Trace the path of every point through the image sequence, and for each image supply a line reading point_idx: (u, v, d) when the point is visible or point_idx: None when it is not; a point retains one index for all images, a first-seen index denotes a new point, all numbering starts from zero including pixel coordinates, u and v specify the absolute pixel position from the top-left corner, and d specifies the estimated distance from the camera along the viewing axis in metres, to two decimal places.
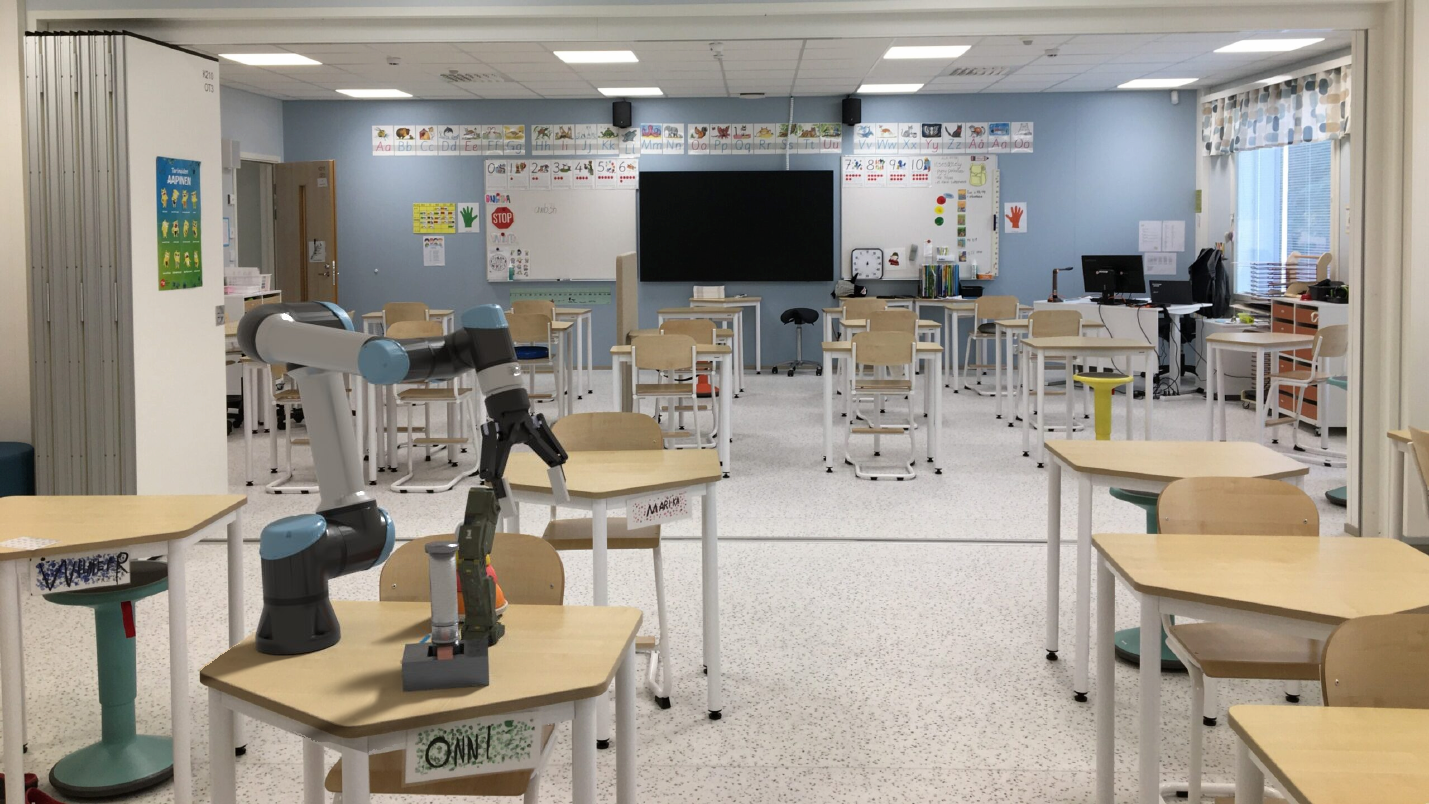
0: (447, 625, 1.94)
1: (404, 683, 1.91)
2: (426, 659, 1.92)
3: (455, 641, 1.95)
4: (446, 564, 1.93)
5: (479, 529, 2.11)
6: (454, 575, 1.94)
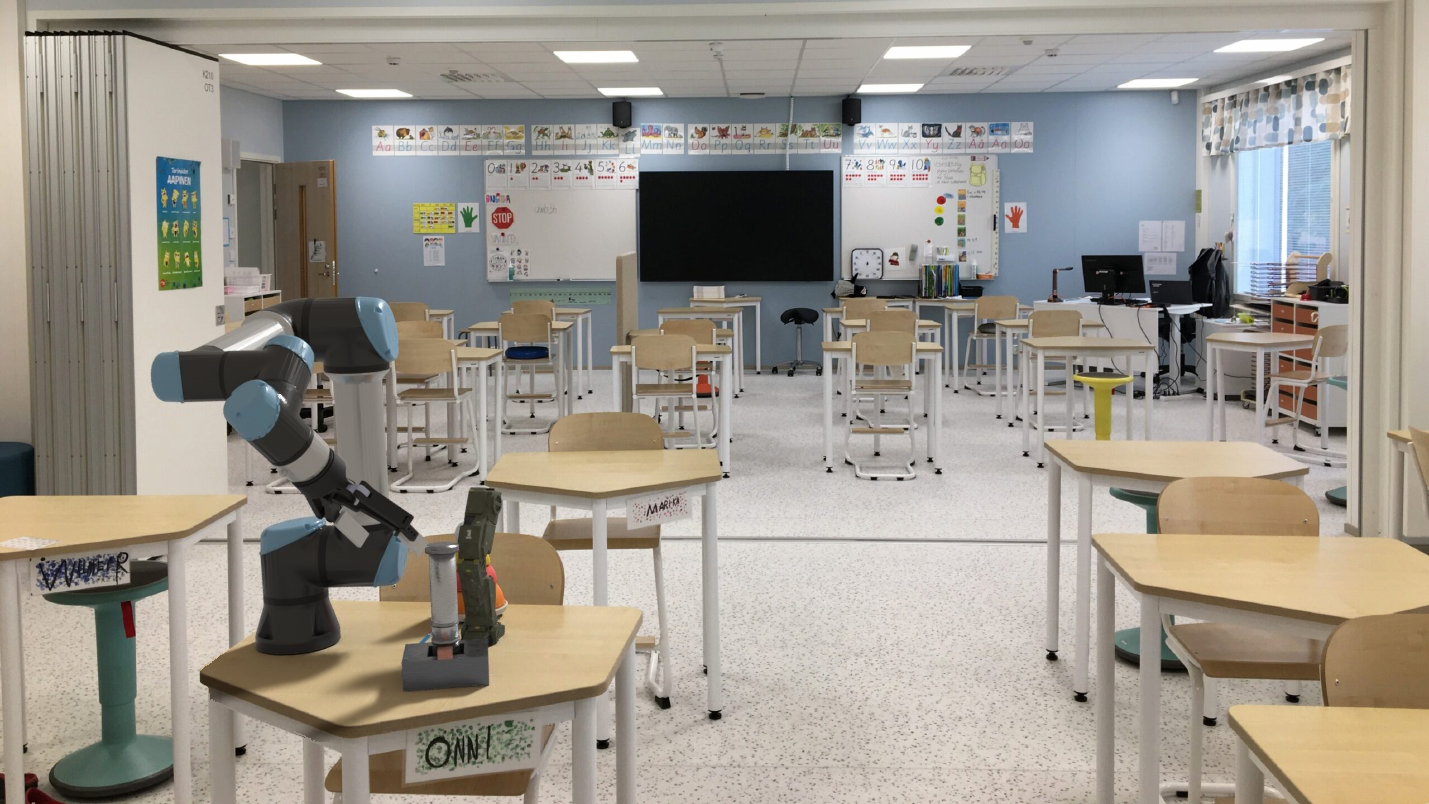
0: (447, 626, 1.94)
1: (404, 683, 1.91)
2: (426, 659, 1.92)
3: (455, 642, 1.95)
4: (446, 565, 1.93)
5: (479, 529, 2.11)
6: (454, 576, 1.94)
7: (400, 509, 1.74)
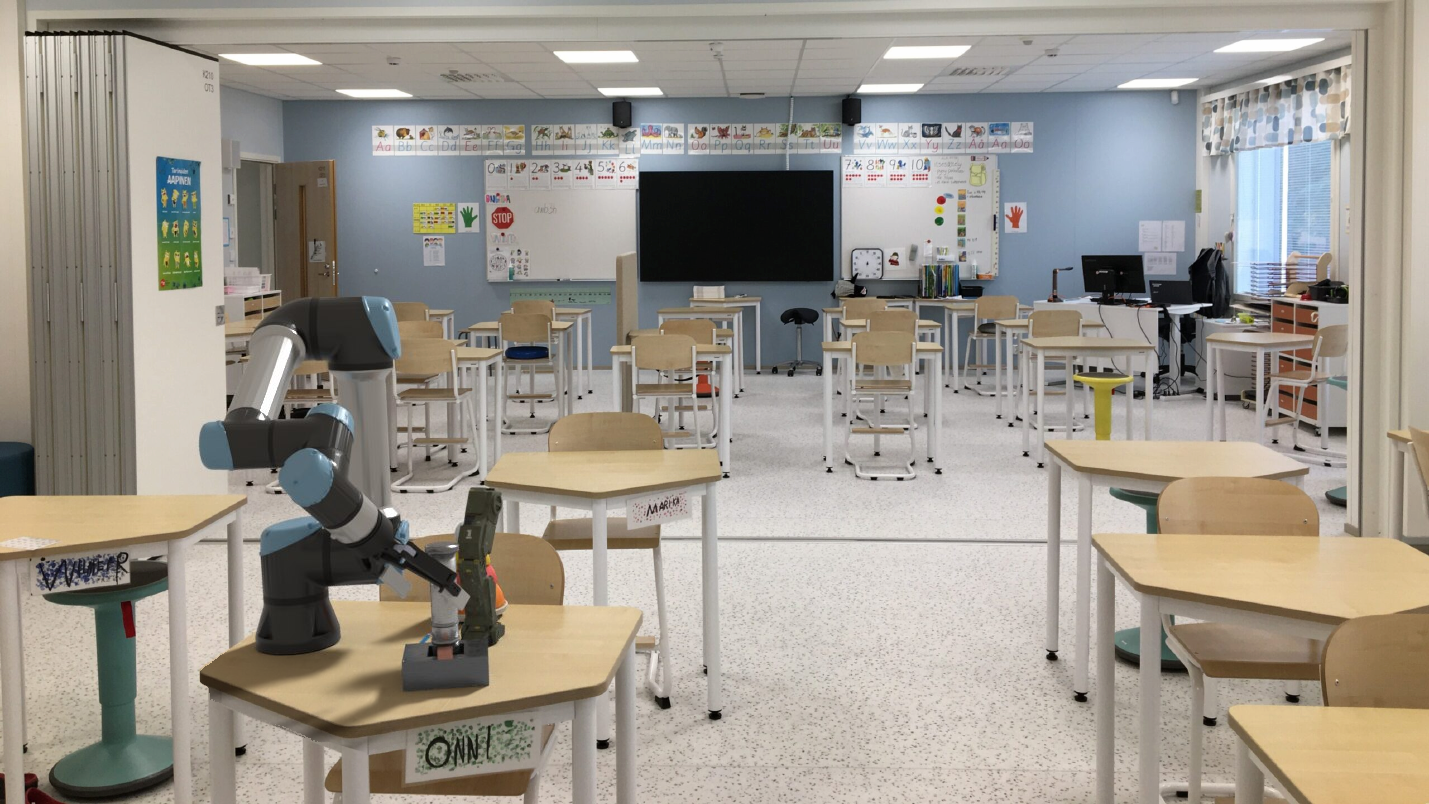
0: (447, 626, 1.94)
1: (404, 683, 1.91)
2: (426, 659, 1.92)
3: (455, 642, 1.95)
4: (446, 565, 1.93)
5: (479, 529, 2.11)
6: None
7: (444, 567, 1.82)
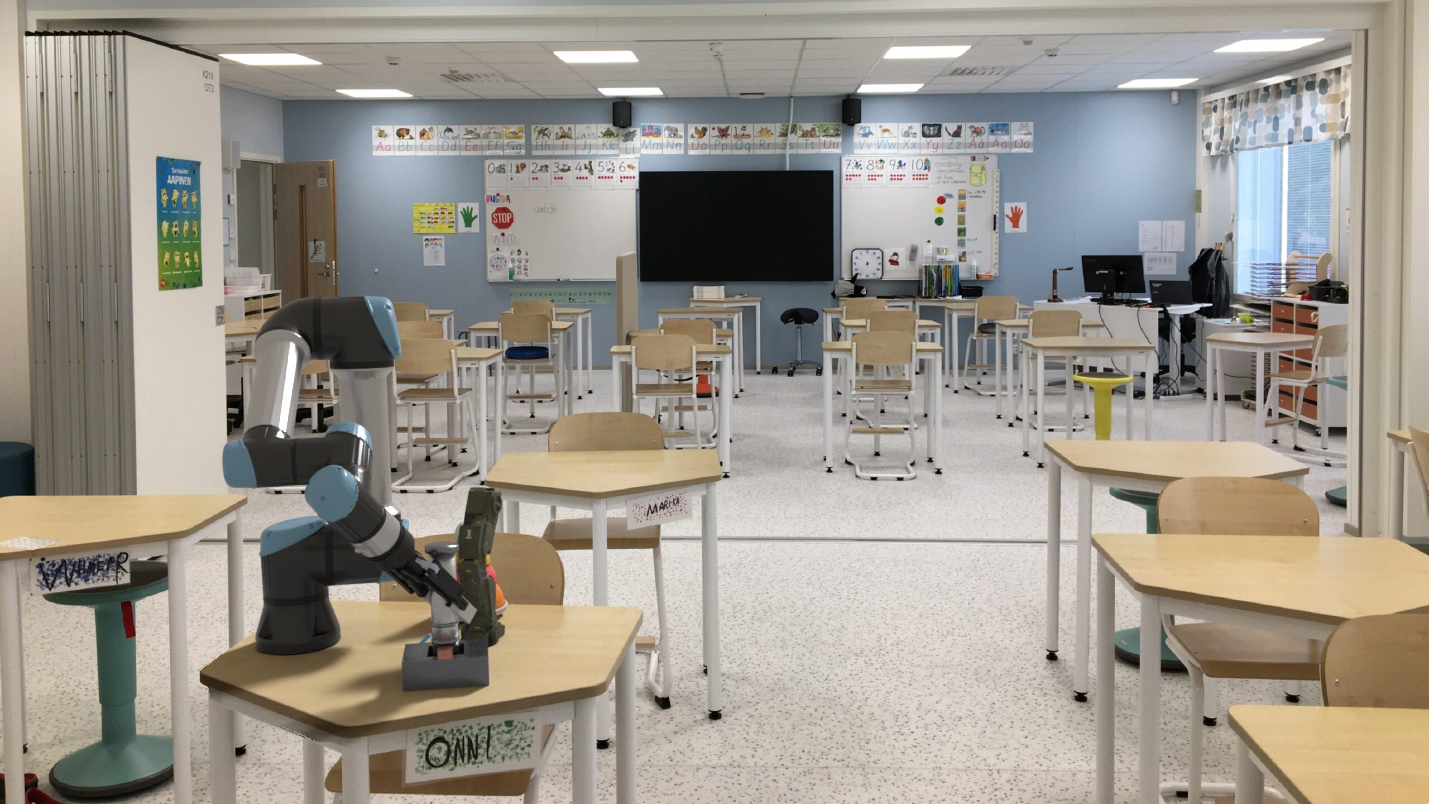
0: (447, 626, 1.94)
1: (404, 683, 1.91)
2: (426, 659, 1.92)
3: (455, 642, 1.95)
4: (446, 565, 1.93)
5: (479, 529, 2.11)
6: (454, 576, 1.94)
7: (457, 584, 1.90)
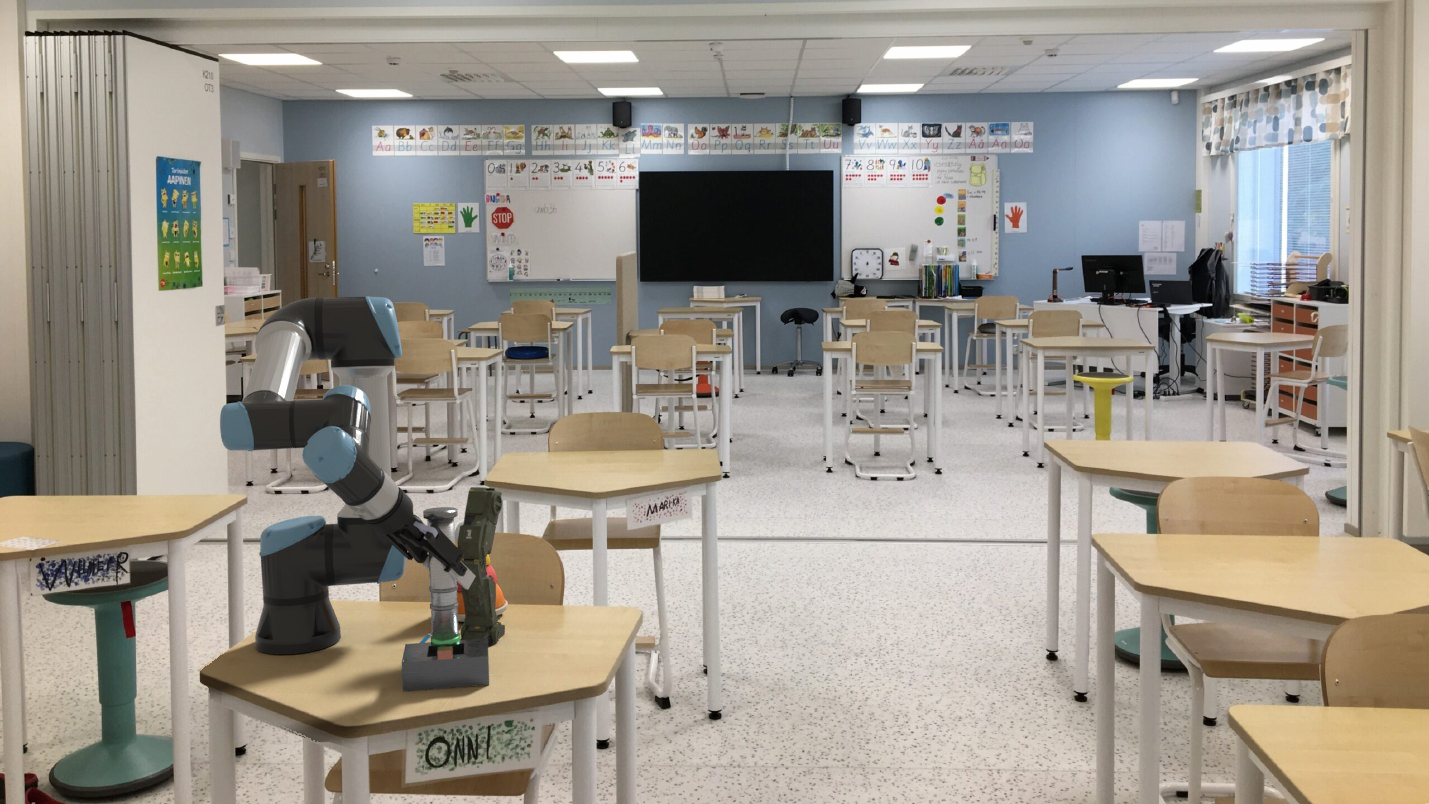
0: (446, 591, 1.93)
1: (404, 683, 1.91)
2: (426, 659, 1.92)
3: (454, 607, 1.94)
4: (445, 530, 1.92)
5: (479, 529, 2.11)
6: (453, 541, 1.94)
7: (456, 549, 1.89)
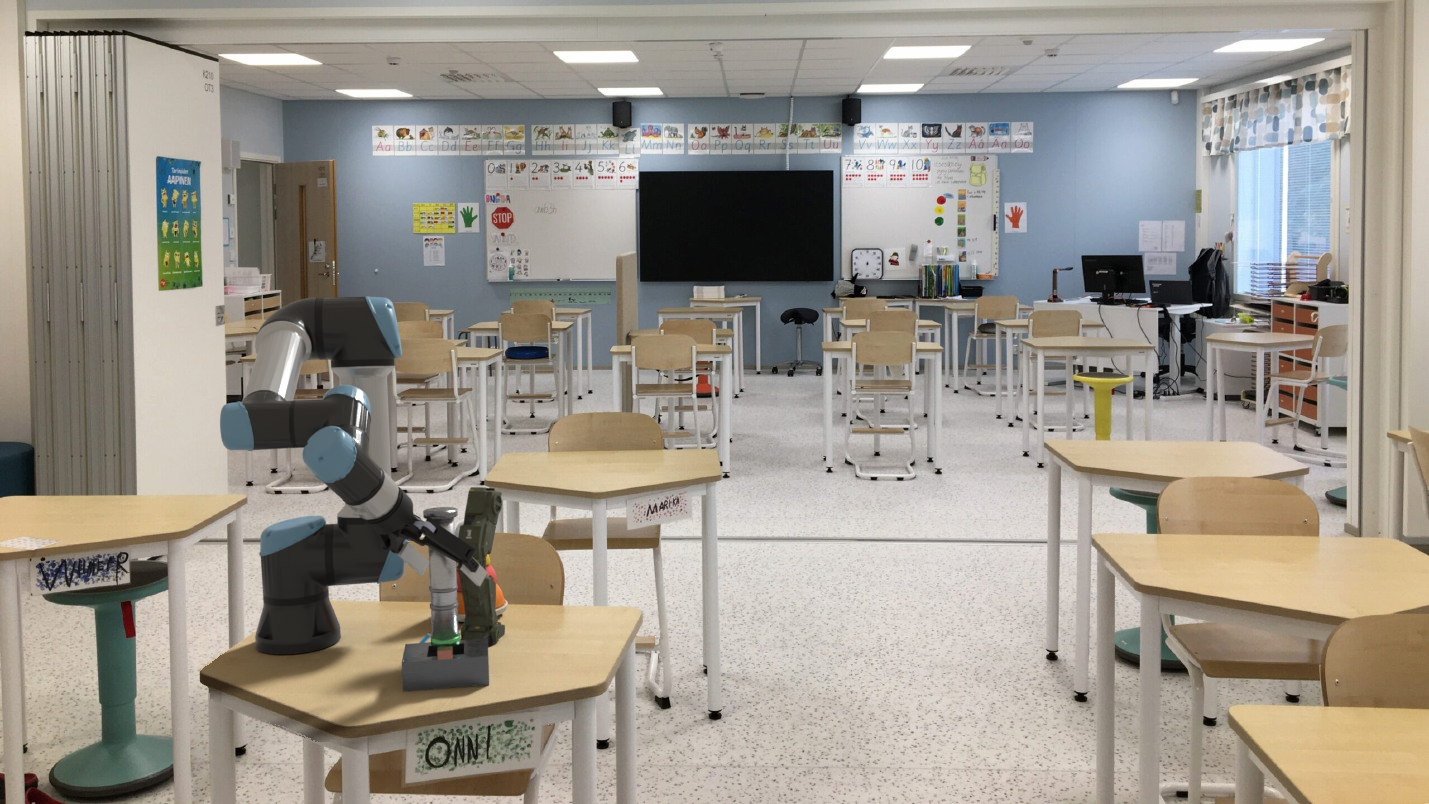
0: (446, 591, 1.93)
1: (404, 683, 1.91)
2: (426, 659, 1.92)
3: (454, 607, 1.94)
4: None
5: (479, 529, 2.11)
6: None
7: (463, 543, 1.86)
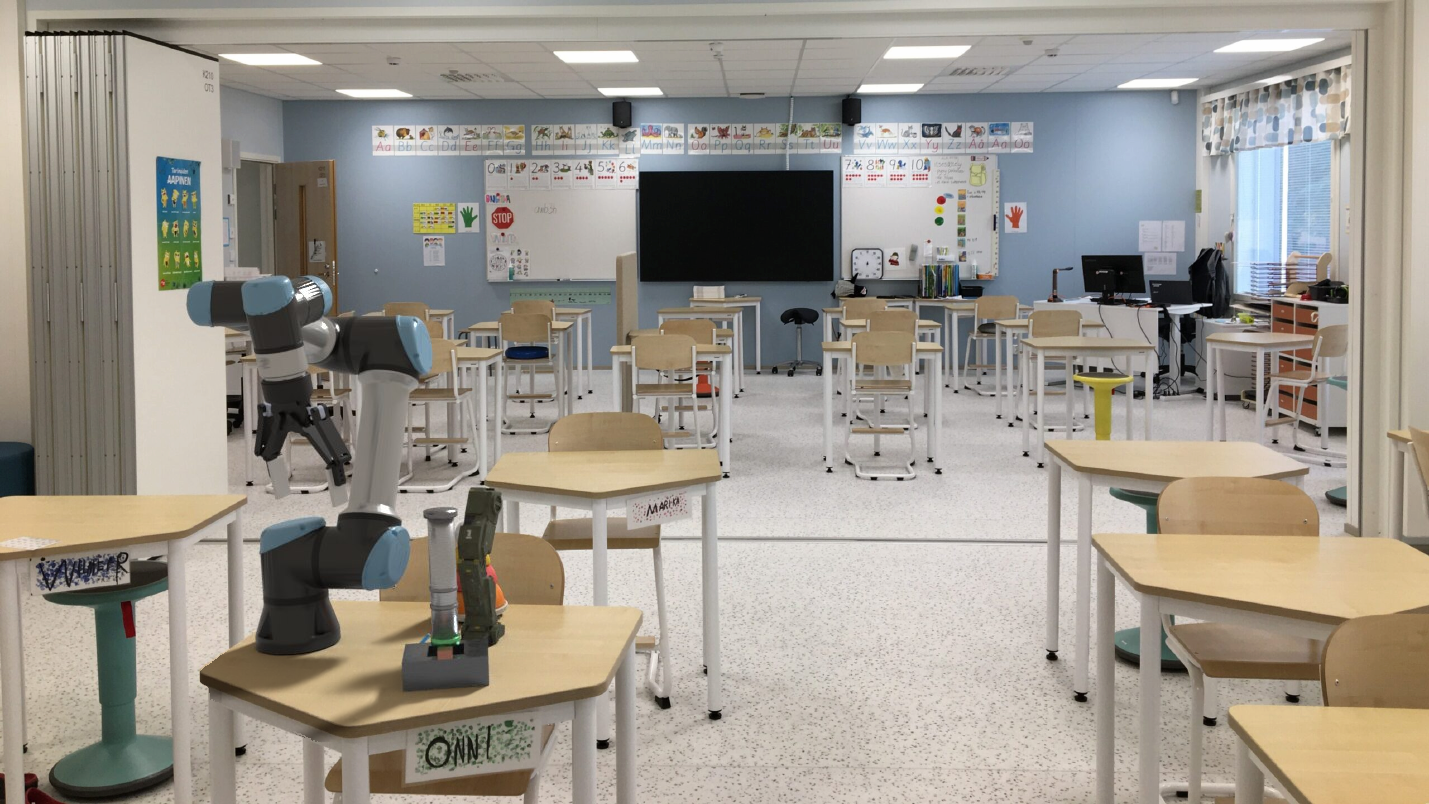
0: (446, 591, 1.93)
1: (404, 683, 1.91)
2: (426, 659, 1.92)
3: (454, 607, 1.94)
4: (445, 530, 1.92)
5: (479, 529, 2.11)
6: (453, 541, 1.94)
7: (343, 445, 1.82)
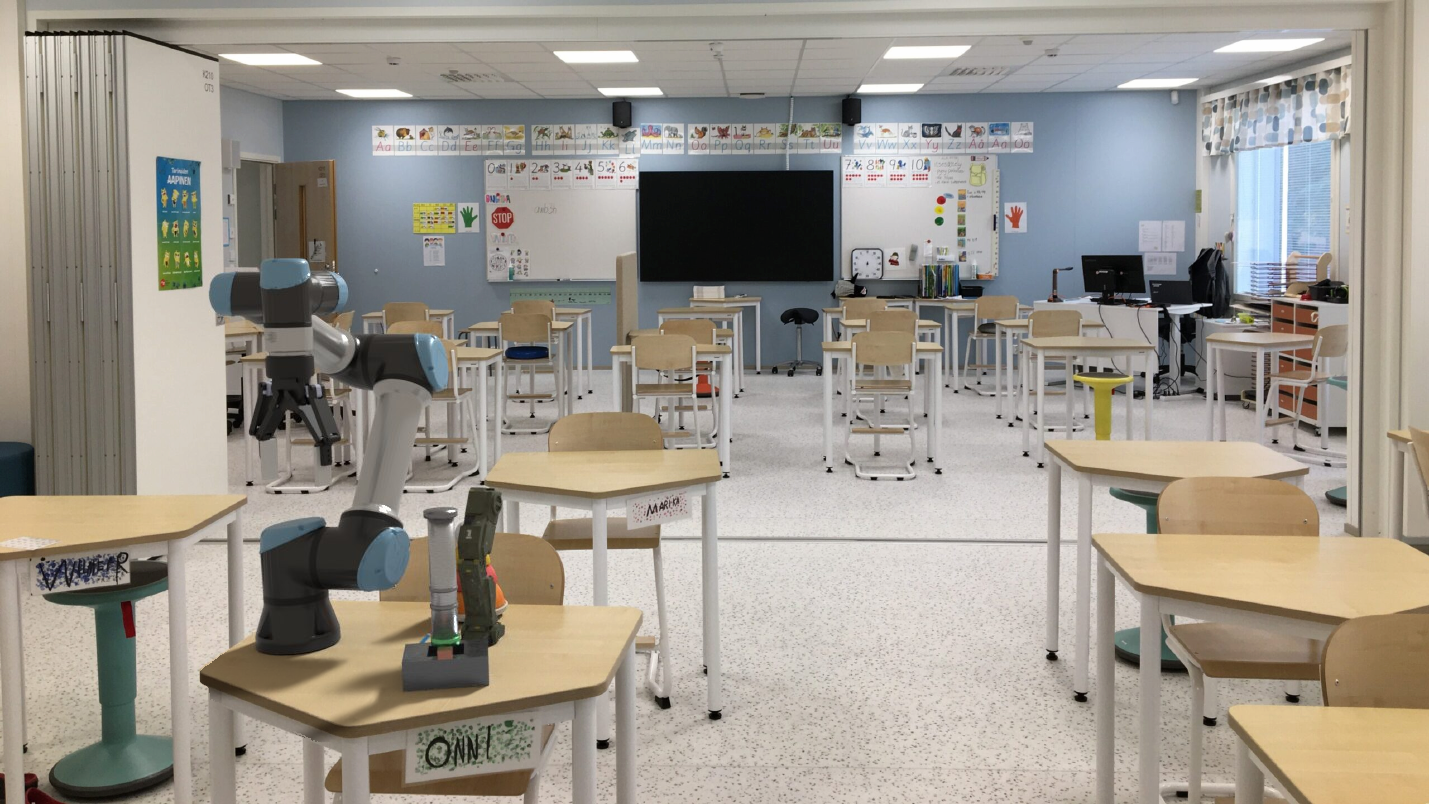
0: (446, 591, 1.93)
1: (404, 683, 1.91)
2: (426, 659, 1.92)
3: (454, 607, 1.94)
4: (445, 530, 1.92)
5: (479, 529, 2.11)
6: (453, 541, 1.94)
7: (334, 425, 1.85)
